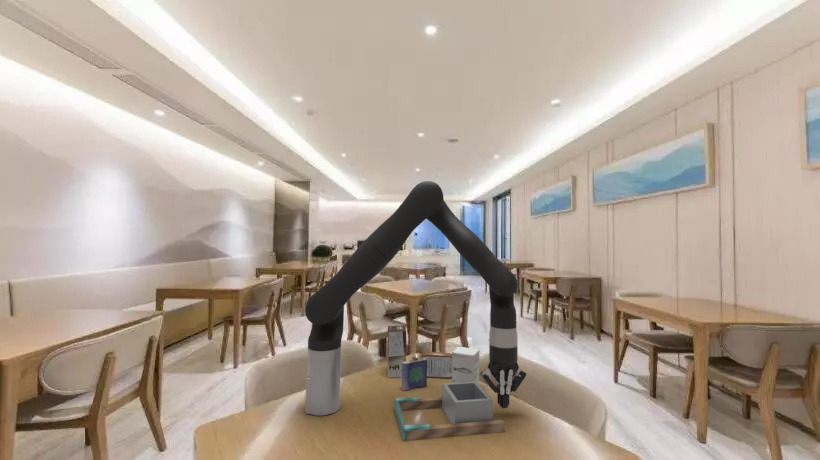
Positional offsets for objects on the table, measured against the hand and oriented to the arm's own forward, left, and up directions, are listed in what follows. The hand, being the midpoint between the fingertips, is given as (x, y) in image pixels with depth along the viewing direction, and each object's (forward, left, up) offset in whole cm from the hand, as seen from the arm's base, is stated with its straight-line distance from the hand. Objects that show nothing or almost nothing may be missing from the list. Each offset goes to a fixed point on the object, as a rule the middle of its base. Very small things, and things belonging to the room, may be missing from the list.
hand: (503, 406), depth 97 cm
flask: (-21, +22, -3) cm, 30 cm away
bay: (-16, 0, -3) cm, 16 cm away
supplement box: (-5, +18, -3) cm, 19 cm away
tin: (-11, +30, -3) cm, 32 cm away
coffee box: (-25, +36, -3) cm, 44 cm away
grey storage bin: (-11, 0, -2) cm, 11 cm away
